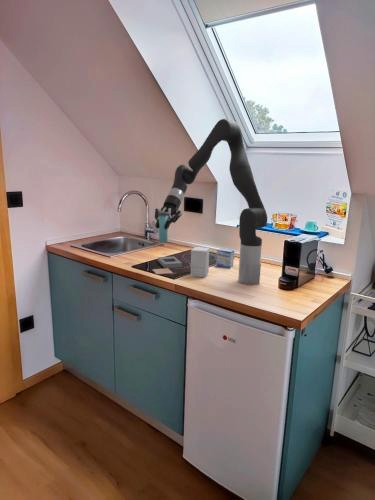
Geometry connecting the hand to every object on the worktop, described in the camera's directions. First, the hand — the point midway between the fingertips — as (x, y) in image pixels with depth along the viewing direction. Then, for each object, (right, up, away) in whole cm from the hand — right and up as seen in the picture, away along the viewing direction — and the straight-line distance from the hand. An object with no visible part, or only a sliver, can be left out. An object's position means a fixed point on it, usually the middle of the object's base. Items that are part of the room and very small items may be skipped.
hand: (161, 227), depth 174 cm
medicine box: (+31, -19, +20) cm, 42 cm away
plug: (+1, -7, +3) cm, 7 cm away
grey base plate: (+3, -18, +20) cm, 27 cm away
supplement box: (+18, -22, +4) cm, 29 cm away
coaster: (0, -21, +6) cm, 22 cm away
